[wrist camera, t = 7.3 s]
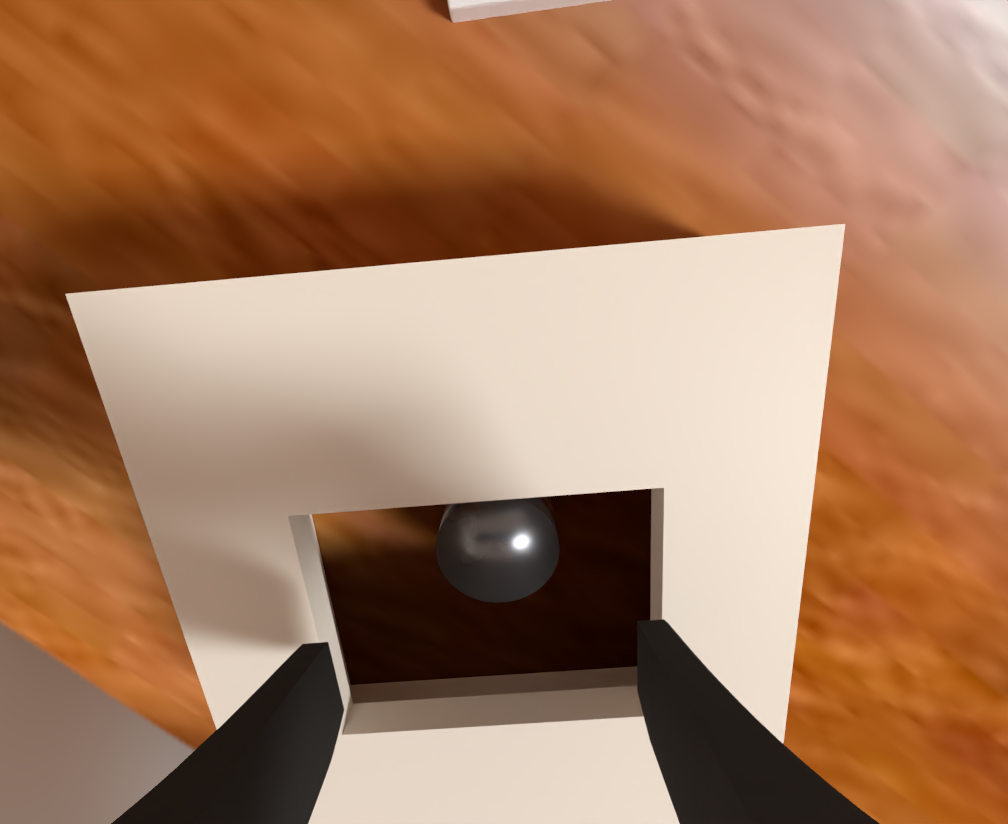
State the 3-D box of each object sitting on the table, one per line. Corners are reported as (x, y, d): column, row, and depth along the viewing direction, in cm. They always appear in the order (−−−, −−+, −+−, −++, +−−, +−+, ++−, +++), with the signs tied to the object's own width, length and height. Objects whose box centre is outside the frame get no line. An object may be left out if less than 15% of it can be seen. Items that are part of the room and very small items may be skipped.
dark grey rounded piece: (552, 548, 18) (561, 599, 16) (452, 554, 19) (443, 606, 16) (548, 454, 17) (557, 490, 14) (441, 461, 17) (428, 499, 14)
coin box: (695, 680, 20) (771, 843, 14) (332, 704, 21) (265, 871, 15) (715, 241, 15) (845, 224, 9) (228, 285, 15) (64, 294, 10)
